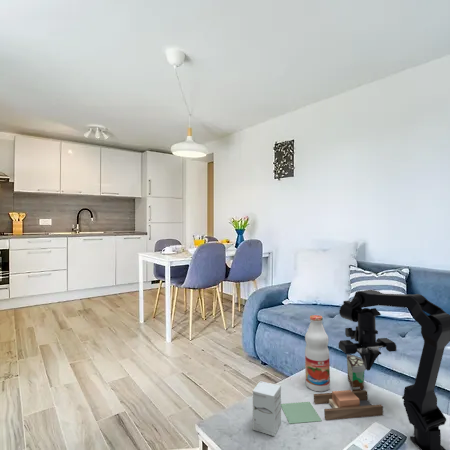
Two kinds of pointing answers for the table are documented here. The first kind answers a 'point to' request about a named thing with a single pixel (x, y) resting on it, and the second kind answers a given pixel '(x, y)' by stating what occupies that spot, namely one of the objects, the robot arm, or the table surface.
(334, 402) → the block
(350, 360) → the food container
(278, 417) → the supplement box
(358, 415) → the channel
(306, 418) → the pad
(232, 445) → the table surface
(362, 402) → the trap pit
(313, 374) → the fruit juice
